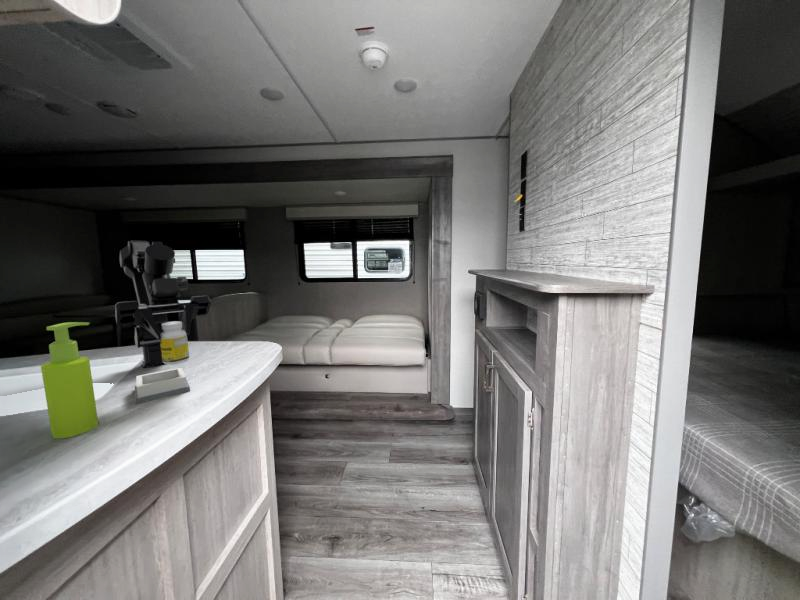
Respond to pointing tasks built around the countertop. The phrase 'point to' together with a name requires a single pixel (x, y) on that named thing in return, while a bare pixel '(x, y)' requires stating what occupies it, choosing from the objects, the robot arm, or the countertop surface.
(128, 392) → the countertop surface
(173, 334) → the supplement bottle
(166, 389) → the cream square open box
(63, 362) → the soap dispenser
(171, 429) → the countertop surface
